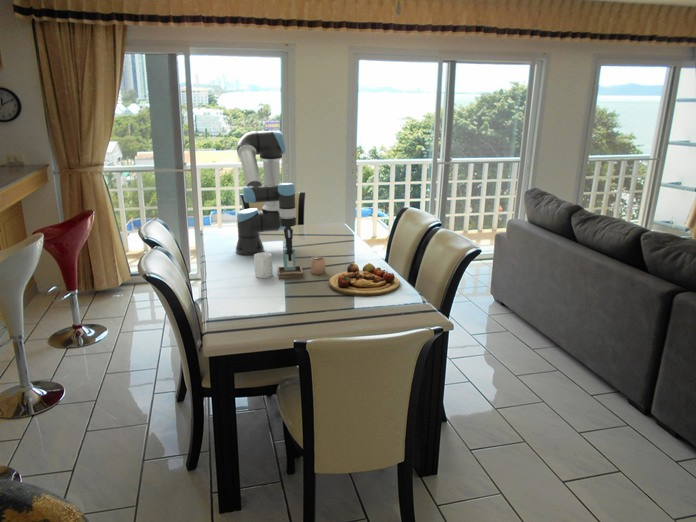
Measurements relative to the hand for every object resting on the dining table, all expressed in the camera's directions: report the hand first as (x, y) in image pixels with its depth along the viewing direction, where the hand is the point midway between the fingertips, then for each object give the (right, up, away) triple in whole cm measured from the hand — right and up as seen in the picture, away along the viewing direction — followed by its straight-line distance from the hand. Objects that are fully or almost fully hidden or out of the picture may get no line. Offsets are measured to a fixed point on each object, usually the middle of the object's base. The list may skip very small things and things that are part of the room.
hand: (289, 265), depth 250 cm
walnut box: (0, -5, +2) cm, 5 cm away
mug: (-12, -6, -1) cm, 14 cm away
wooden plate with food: (+35, -9, -12) cm, 38 cm away
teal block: (0, -2, 0) cm, 2 cm away
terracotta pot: (+13, -3, +5) cm, 14 cm away
